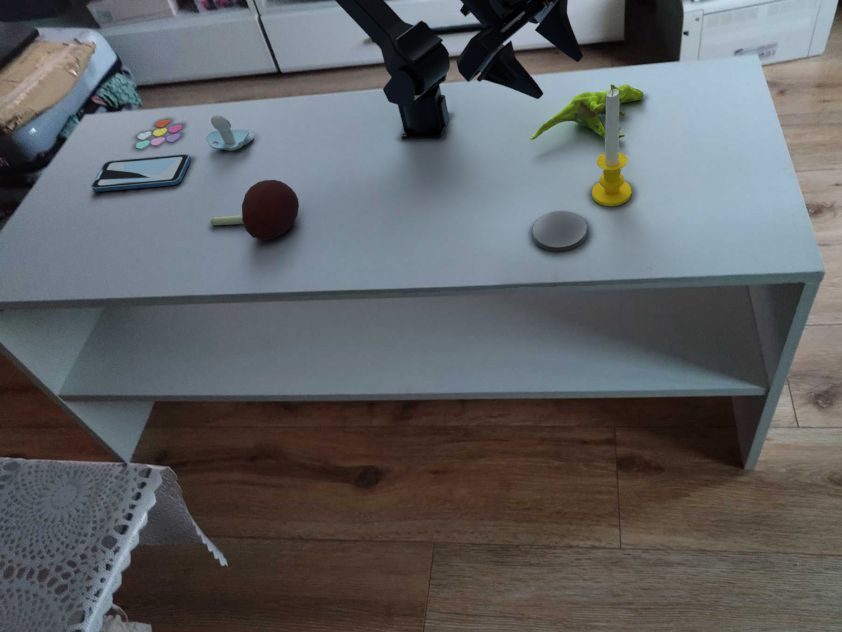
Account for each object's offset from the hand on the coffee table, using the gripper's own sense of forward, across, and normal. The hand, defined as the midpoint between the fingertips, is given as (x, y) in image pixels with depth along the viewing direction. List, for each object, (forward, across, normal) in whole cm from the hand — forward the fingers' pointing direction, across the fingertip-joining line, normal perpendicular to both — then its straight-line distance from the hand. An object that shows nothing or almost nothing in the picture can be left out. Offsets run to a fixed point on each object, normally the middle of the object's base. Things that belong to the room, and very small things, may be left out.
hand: (561, 77), depth 88 cm
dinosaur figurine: (+7, +11, +13) cm, 18 cm away
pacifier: (-31, -18, +46) cm, 58 cm away
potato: (-16, -29, +31) cm, 46 cm away
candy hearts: (-43, -22, +56) cm, 74 cm away
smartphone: (-37, -31, +51) cm, 70 cm away
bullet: (-21, -33, +36) cm, 54 cm away
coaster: (+14, -11, +7) cm, 19 cm away
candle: (+16, -2, +6) cm, 17 cm away
